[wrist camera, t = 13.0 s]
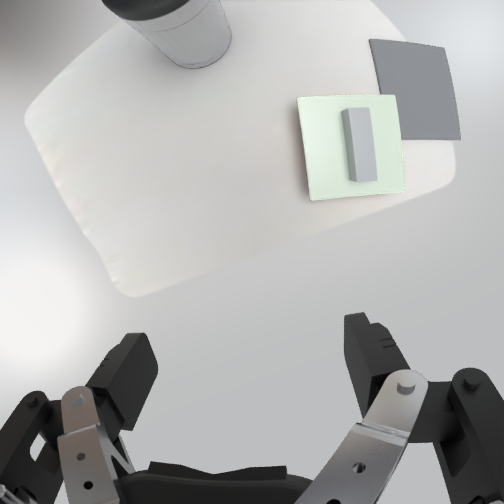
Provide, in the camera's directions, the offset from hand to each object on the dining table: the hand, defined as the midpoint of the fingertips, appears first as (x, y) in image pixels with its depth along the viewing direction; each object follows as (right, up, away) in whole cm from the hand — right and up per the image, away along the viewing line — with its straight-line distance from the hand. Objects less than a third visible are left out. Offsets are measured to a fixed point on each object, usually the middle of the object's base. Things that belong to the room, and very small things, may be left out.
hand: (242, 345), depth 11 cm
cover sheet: (+12, +16, +20) cm, 29 cm away
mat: (+24, +27, +21) cm, 42 cm away
